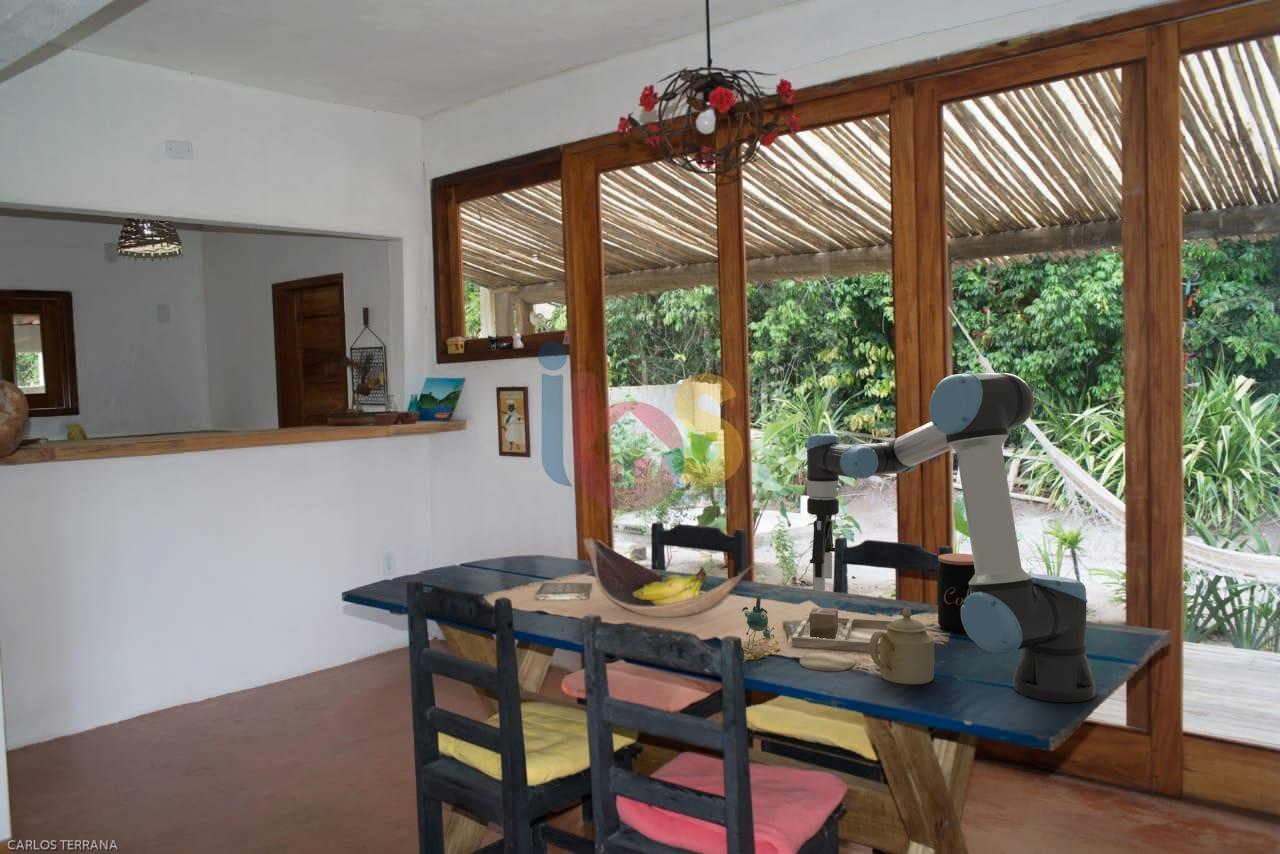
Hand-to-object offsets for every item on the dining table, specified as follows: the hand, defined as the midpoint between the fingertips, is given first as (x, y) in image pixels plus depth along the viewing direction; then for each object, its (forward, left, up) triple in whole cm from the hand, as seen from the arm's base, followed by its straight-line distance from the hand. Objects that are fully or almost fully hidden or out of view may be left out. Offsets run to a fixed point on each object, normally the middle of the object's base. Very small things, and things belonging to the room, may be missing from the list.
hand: (822, 584), depth 237 cm
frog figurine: (-16, +12, -14) cm, 24 cm away
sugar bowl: (-28, -21, -13) cm, 37 cm away
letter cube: (0, 0, -13) cm, 13 cm away
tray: (0, -6, -13) cm, 14 cm away
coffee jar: (+17, -32, -13) cm, 38 cm away
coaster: (-21, -4, -13) cm, 25 cm away
